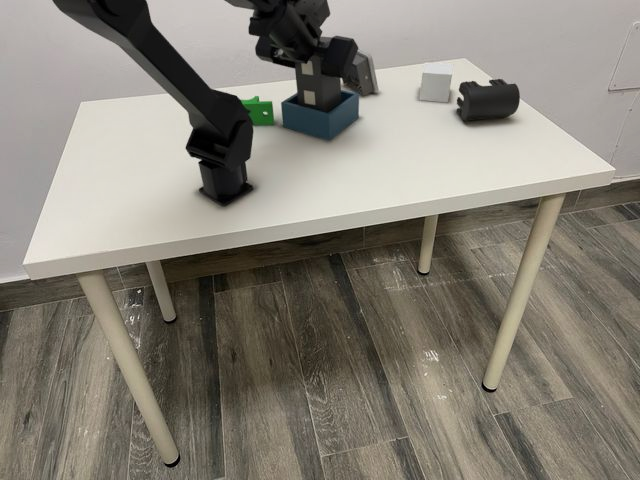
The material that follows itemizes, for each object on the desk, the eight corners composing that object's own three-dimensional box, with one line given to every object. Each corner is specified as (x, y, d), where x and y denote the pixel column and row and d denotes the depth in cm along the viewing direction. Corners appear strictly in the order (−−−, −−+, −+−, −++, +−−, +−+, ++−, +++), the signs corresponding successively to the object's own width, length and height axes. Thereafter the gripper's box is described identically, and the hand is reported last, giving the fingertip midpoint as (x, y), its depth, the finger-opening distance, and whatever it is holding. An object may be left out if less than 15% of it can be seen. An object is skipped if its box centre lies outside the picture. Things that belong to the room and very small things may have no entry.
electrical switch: (379, 93, 105) (378, 52, 99) (360, 101, 103) (358, 59, 97) (354, 80, 111) (352, 40, 105) (336, 87, 110) (333, 47, 103)
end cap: (465, 127, 92) (472, 94, 88) (453, 111, 98) (458, 79, 93) (514, 123, 93) (523, 89, 89) (499, 107, 98) (507, 75, 94)
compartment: (329, 140, 90) (329, 115, 86) (282, 126, 94) (280, 102, 91) (358, 117, 96) (359, 93, 93) (313, 105, 101) (312, 82, 98)
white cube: (447, 102, 101) (452, 74, 97) (419, 100, 102) (422, 72, 98) (449, 91, 105) (453, 64, 101) (421, 89, 107) (425, 62, 103)
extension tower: (323, 120, 90) (318, 39, 81) (298, 115, 93) (291, 37, 85) (342, 110, 94) (338, 32, 85) (317, 106, 97) (312, 29, 89)
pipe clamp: (275, 116, 98) (273, 95, 95) (273, 125, 95) (271, 103, 92) (221, 117, 98) (218, 95, 95) (218, 125, 95) (214, 103, 92)
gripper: (354, -15, 72) (383, 41, 86) (258, -27, 80) (299, 25, 94) (326, 54, 72) (360, 98, 86) (233, 34, 80) (278, 78, 94)
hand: (323, 72), depth 90 cm, fingers closed on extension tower, 7 cm apart
